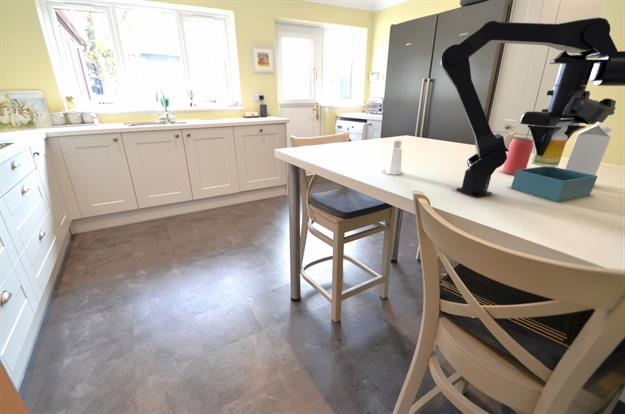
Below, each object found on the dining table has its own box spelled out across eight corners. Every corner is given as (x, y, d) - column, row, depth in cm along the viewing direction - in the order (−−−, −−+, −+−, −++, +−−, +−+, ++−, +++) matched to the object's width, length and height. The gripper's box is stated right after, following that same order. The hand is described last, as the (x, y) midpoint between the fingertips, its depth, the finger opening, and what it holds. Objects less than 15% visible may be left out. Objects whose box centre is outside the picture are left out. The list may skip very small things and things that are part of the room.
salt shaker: (398, 170, 100) (402, 139, 95) (403, 174, 95) (408, 141, 90) (383, 170, 99) (386, 138, 95) (387, 174, 94) (391, 141, 90)
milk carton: (559, 183, 89) (582, 120, 82) (561, 178, 94) (583, 119, 86) (590, 188, 84) (617, 122, 77) (590, 183, 89) (615, 120, 82)
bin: (557, 202, 73) (564, 181, 71) (510, 188, 83) (516, 169, 81) (589, 195, 79) (597, 176, 77) (542, 182, 89) (548, 165, 87)
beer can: (524, 177, 95) (536, 140, 90) (501, 173, 98) (511, 138, 94) (523, 172, 100) (534, 138, 96) (501, 170, 103) (511, 136, 99)
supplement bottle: (562, 168, 68) (577, 126, 64) (537, 166, 69) (550, 125, 65) (550, 163, 72) (563, 123, 69) (526, 161, 73) (538, 123, 70)
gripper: (589, 84, 53) (561, 165, 59) (639, 86, 60) (609, 158, 66) (528, 85, 63) (509, 154, 69) (577, 86, 70) (556, 150, 76)
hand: (547, 154), depth 70 cm, fingers closed on supplement bottle, 5 cm apart
